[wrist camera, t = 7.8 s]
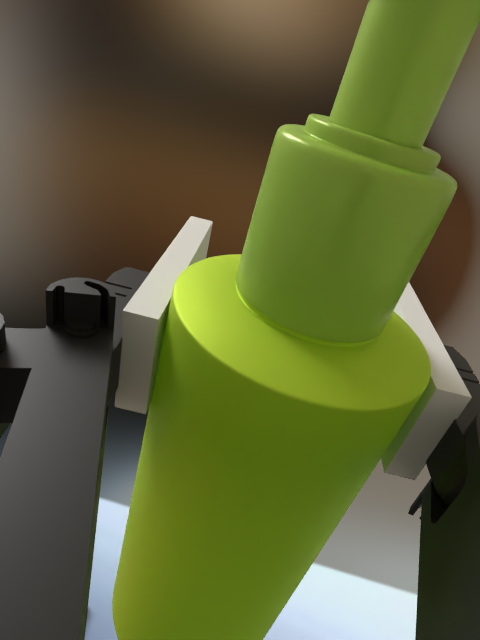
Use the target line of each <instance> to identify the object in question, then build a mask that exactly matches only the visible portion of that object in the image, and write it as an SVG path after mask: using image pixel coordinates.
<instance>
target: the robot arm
mask: <svg viewBox="0 0 480 640" xmlns="http://www.w3.org/2000/svg"><path fill="white" fill-rule="evenodd" d="M212 223H213V222H212V221H208V220H204V219H201V218H197V217H192V216H191V217H190V218H189V220H188V221H187V222H186V224H185V225H184V227H183V228H182V229H181V231H180V232H179V233H178V235H177V236H176V238H175V239H174V240H173V242H172V243H171V245H170V246H169V247H168V249H167V250H166V252H165V253H164V254H163V256H162V257H161V258H160V260H159V261H158V263H157V264H156V265H155V267H154V268H153V269H152V271H151V272H150V273H149V272H145V271H141V270H137V269H133V268H129V267H126V268H124V269H121V270H119V271H116V272H114V273H113V274H112V275H111V276H110V277H109V278H108V279H107V280H106V282H105V283H103V282H101V281H98V280H94V279H89V278H68V279H63V280H60V281H57V282H55V283H52V284H51V285H50V286H49V287H48V288H47V289H46V313H47V314H46V316H47V326H46V328H43V329H19V328H5V324H4V319H3V315H2V314H0V438H1V436H2V435H3V433H4V432H5V431H6V429H7V428H8V426H9V425H10V423H12V426H11V429H10V432H9V435H8V438H7V441H6V443H5V446H4V449H3V452H2V455H1V458H0V640H84V637H85V627H86V618H87V608H88V599H89V589H90V580H91V570H92V561H93V551H94V542H95V532H96V523H97V513H98V504H99V494H100V484H101V475H102V466H103V456H104V446H105V437H106V427H107V419H108V405H109V403H110V401H111V399H112V397H113V395H114V394H115V392H116V397H115V407H119V408H123V409H127V410H132V411H135V412H139V413H143V414H146V412H147V410H148V408H149V405H150V403H151V400H152V395H153V389H154V384H155V379H156V373H157V368H158V362H159V357H160V352H161V347H162V342H163V337H164V332H165V326H166V321H167V316H168V311H169V306H170V301H171V296H172V291H173V287H174V284H175V281H176V280H177V278H178V276H179V275H180V274H181V273H182V272H183V271H184V270H185V269H186V268H187V267H189V266H190V265H192V264H194V263H196V262H198V261H201V260H204V259H206V254H207V249H208V244H209V239H210V233H211V228H212ZM394 312H395V313H396V314H397V315H399V316H400V317H401V318H402V319H403V320H404V321H405V322H406V323H407V324H408V325H409V326H410V327H411V329H412V330H413V331H414V332H415V333H416V335H417V336H418V337H419V339H420V340H421V342H422V343H423V345H424V347H425V349H426V351H427V353H428V356H429V360H430V364H431V376H430V381H429V383H428V386H427V388H426V389H425V391H424V392H423V394H422V396H421V397H420V399H419V400H418V402H417V403H416V405H415V406H414V408H413V409H412V411H411V412H410V414H409V416H408V417H407V419H406V420H405V422H404V423H403V425H402V426H401V428H400V429H399V431H398V432H397V434H396V436H395V437H394V439H393V440H392V442H391V443H390V445H389V446H388V448H387V449H386V451H385V452H384V454H383V456H382V457H381V459H382V464H383V468H384V472H385V473H388V474H392V475H397V476H400V477H404V478H408V479H413V480H415V479H416V478H417V476H418V475H419V473H420V472H421V470H422V469H423V468H424V466H425V465H426V464H427V467H428V470H429V473H430V476H431V479H430V480H429V482H428V483H427V485H426V486H425V487H424V489H423V490H422V492H421V493H420V494H419V496H418V497H417V499H416V500H415V501H414V503H413V504H412V505H411V507H410V510H409V514H411V515H413V514H414V513H415V512H416V511H417V509H418V508H420V507H422V511H421V517H420V519H421V532H420V554H419V575H418V597H417V619H416V640H480V384H479V381H478V379H477V378H476V376H475V374H473V371H472V369H471V367H470V366H469V364H468V362H467V361H466V360H465V358H463V357H462V356H461V355H460V354H459V353H458V352H457V351H456V350H455V349H454V348H453V347H449V346H445V345H443V344H442V342H441V340H440V338H439V336H438V335H437V333H436V331H435V330H434V327H433V325H432V324H431V322H430V320H429V318H428V316H427V314H426V313H425V311H424V309H423V307H422V305H421V303H420V301H419V300H418V298H417V296H416V294H415V292H414V290H413V289H412V287H411V285H410V283H409V282H408V284H407V286H406V288H405V290H404V292H403V293H402V295H401V297H400V299H399V301H398V303H397V305H396V307H395V309H394Z"/></svg>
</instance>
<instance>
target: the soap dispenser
mask: <svg viewBox="0 0 480 640" xmlns="http://www.w3.org/2000/svg"><path fill="white" fill-rule="evenodd" d="M479 21H480V0H369V2H368V5H367V8H366V11H365V14H364V17H363V20H362V23H361V26H360V29H359V32H358V35H357V38H356V41H355V44H354V47H353V50H352V52H351V55H350V58H349V61H348V64H347V67H346V70H345V73H344V76H343V79H342V82H341V85H340V88H339V91H338V94H337V97H336V100H335V103H334V106H333V109H332V112H331V115H330V117H328V116H324V115H318V114H311V115H309V117H308V119H307V122H306V125H305V126H302V125H293V124H288V125H283V126H281V127H280V128H279V129H278V131H277V133H276V135H275V139H274V142H273V145H272V149H271V152H270V156H269V160H268V163H267V167H266V170H265V173H264V177H263V181H262V184H261V188H260V191H259V195H258V198H257V202H256V206H255V209H254V213H253V216H252V220H251V224H250V227H249V230H248V234H247V238H246V241H245V245H244V248H243V252H242V254H238V255H222V256H216V257H211V258H207V259H204V260H201V261H198V262H196V263H194V264H192V265H190V266H189V267H187V268H186V269H185V270H184V271H183V272H182V273H181V274H180V275H179V276H178V278H177V280H176V281H175V284H174V287H173V291H172V296H171V301H170V306H169V311H168V316H167V321H166V326H165V332H164V337H163V342H162V347H161V352H160V357H159V362H158V368H157V373H156V379H155V384H154V389H153V395H152V400H151V403H150V408H149V413H148V418H147V424H146V429H145V434H144V439H143V444H142V449H141V454H140V459H139V465H138V469H137V474H136V479H135V485H134V490H133V495H132V500H131V505H130V510H129V515H128V520H127V525H126V530H125V536H124V541H123V546H122V551H121V556H120V561H119V566H118V571H117V576H116V581H115V587H114V592H113V620H114V625H115V630H116V633H117V637H118V639H119V640H263V638H264V637H265V635H266V634H267V632H268V631H269V629H270V628H271V626H272V625H273V623H274V622H275V620H276V618H277V617H278V615H279V614H280V612H281V611H282V609H283V608H284V606H285V605H286V603H287V602H288V600H289V599H290V597H291V595H292V594H293V592H294V591H295V589H296V588H297V586H298V585H299V583H300V582H301V580H302V579H303V577H304V575H305V574H306V572H307V571H308V569H309V568H310V566H311V565H312V563H313V562H314V560H315V558H316V557H317V555H318V554H319V552H320V551H321V549H322V548H323V546H324V545H325V543H326V542H327V540H328V539H329V537H330V535H331V534H332V532H333V531H334V529H335V528H336V526H337V525H338V523H339V522H340V520H341V518H342V517H343V515H344V514H345V512H346V511H347V509H348V508H349V506H350V505H351V503H352V501H353V500H354V499H355V497H356V496H357V494H358V492H359V491H360V489H361V488H362V486H363V485H364V483H365V482H366V480H367V479H368V477H369V476H370V474H371V472H372V471H373V469H374V468H375V466H376V465H377V463H378V462H379V460H380V459H381V457H382V456H383V454H384V452H385V451H386V449H387V448H388V446H389V445H390V443H391V442H392V440H393V439H394V437H395V436H396V434H397V432H398V431H399V429H400V428H401V426H402V425H403V423H404V422H405V420H406V419H407V417H408V416H409V414H410V412H411V411H412V409H413V408H414V406H415V405H416V403H417V402H418V400H419V399H420V397H421V396H422V394H423V392H424V391H425V389H426V388H427V386H428V383H429V381H430V376H431V364H430V360H429V356H428V353H427V351H426V349H425V347H424V345H423V343H422V342H421V340H420V339H419V337H418V336H417V335H416V333H415V332H414V331H413V330H412V329H411V327H410V326H409V325H408V324H407V323H406V322H405V321H404V320H403V319H402V318H401V317H400V316H399V315H397V314H396V313H395V312H394V309H395V307H396V305H397V303H398V301H399V299H400V297H401V295H402V293H403V292H404V290H405V288H406V286H407V284H408V282H409V280H410V278H411V276H412V275H413V273H414V271H415V269H416V267H417V265H418V263H419V261H420V259H421V257H422V256H423V254H424V252H425V250H426V248H427V246H428V244H429V242H430V240H431V238H432V237H433V235H434V233H435V231H436V229H437V227H438V225H439V223H440V221H441V220H442V218H443V216H444V213H445V212H446V210H447V208H448V206H449V204H450V202H451V200H452V198H453V196H454V194H455V192H456V189H457V183H456V181H455V180H454V179H453V178H452V177H451V176H450V175H448V174H446V173H444V172H443V171H441V170H439V169H437V168H436V167H437V165H438V163H439V161H440V158H441V157H440V155H439V154H438V153H437V152H435V151H433V150H430V149H428V148H426V147H423V146H422V145H423V143H424V141H425V139H426V136H427V134H428V132H429V130H430V128H431V126H432V123H433V121H434V119H435V117H436V115H437V113H438V110H439V108H440V106H441V104H442V101H443V100H444V97H445V95H446V93H447V91H448V88H449V86H450V84H451V82H452V80H453V78H454V76H455V73H456V71H457V69H458V67H459V65H460V62H461V60H462V58H463V56H464V54H465V51H466V49H467V47H468V45H469V43H470V41H471V38H472V36H473V34H474V32H475V30H476V28H477V25H478V23H479Z"/></svg>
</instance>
